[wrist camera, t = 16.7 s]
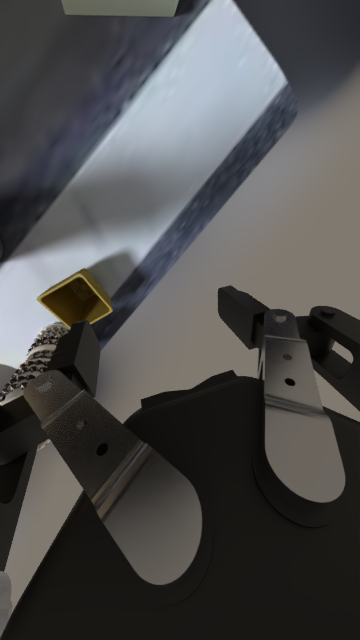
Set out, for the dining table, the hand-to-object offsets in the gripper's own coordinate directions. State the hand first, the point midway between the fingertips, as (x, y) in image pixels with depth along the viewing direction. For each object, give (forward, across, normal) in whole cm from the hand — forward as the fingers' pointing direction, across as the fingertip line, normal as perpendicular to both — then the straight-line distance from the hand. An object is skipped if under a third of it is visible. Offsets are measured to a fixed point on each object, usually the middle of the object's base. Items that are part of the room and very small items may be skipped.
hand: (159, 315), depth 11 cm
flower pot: (+32, +12, +8) cm, 35 cm away
